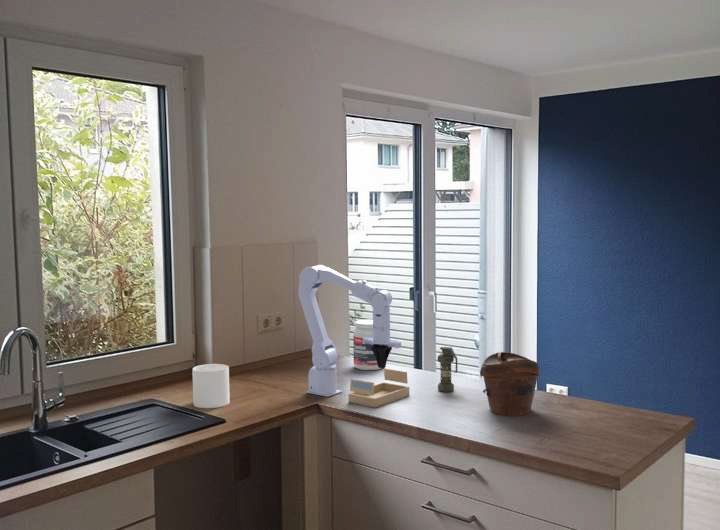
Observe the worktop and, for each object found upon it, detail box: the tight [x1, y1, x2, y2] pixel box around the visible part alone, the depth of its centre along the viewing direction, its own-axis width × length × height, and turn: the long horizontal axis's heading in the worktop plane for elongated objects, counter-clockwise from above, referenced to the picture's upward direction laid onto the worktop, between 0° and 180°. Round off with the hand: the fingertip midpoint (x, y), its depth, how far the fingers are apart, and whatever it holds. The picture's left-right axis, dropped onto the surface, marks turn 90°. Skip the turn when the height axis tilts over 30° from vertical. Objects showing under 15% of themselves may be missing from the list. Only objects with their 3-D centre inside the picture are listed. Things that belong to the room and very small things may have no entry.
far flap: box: [383, 367, 409, 384], centre depth 247 cm, size 9×4×1 cm
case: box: [479, 351, 542, 417], centre depth 225 cm, size 18×20×18 cm
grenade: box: [437, 346, 458, 393], centre depth 249 cm, size 6×6×15 cm
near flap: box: [349, 378, 375, 395], centre depth 232 cm, size 9×4×1 cm
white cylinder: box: [191, 363, 231, 409], centre depth 237 cm, size 12×12×12 cm
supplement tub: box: [352, 319, 383, 371], centre depth 287 cm, size 13×13×18 cm
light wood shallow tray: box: [348, 381, 410, 409], centre depth 240 cm, size 11×19×3 cm, turn 142°
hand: (381, 367), depth 241 cm, fingers closed
